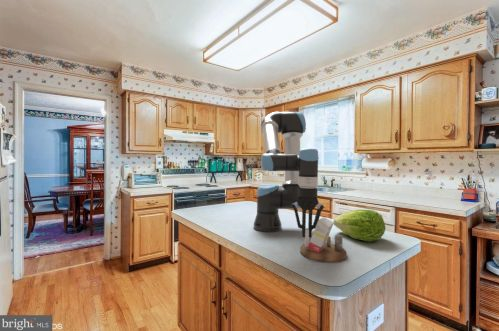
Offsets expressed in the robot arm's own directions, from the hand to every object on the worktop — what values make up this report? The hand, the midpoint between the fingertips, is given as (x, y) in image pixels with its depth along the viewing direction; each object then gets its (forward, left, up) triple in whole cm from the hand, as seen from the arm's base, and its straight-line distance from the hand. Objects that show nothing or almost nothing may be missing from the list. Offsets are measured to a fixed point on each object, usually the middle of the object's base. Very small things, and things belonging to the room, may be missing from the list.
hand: (306, 245), depth 102 cm
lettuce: (+27, +24, -3) cm, 36 cm away
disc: (+7, 0, -3) cm, 7 cm away
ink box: (+4, 0, -1) cm, 4 cm away
